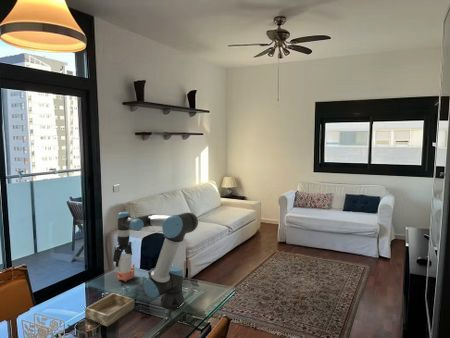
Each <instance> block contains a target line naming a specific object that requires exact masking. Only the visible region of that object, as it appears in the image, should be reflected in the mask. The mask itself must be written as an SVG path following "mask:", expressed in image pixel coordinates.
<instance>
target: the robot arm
mask: <svg viewBox="0 0 450 338" xmlns="http://www.w3.org/2000/svg"><path fill="white" fill-rule="evenodd" d="M198 225H199V219H198V217H197V215H196V214H194V213H193V212H183V213H179V214H156V213H151V214H150V213H149V214H147V215H142V216H136V217H132V216H131V214H130V212H129V211H120V212H118V214H117V237H116V241H117V242H118V243H117V245H115V246H114V247H113V248H114V252H113V258H112V262H113V263H114V262H115V263H116V264H115V266H116V267H115V266H114V267H115V272H116V273H117V272H120V262H119V260H120V257H121V254H123V252H125V253H124V254H131V255H132V256H133V249H132V248H133V247H132V244H133V243H132V241H130V230H131V231H135V232H139V231H141V230H143V228H149V227H161V229H162V233H163V237H164V241H163V244H162V247H161V250H160V253H159V256H158V259H157V262H156V266H155V267H154V268H155V270H153V271H152V272H151V275H150V278H149V277H148V278H146V279H145V280H143V291H144V292H145V294H146V295H147V296H148V297H149V298H151V299H155V298H158V297H159V296H161V298H160V306H161V307H162V308H164V309H168V310H176V309H175V308H177V307H179V306H180V305H181V304H182V303H183V302H184V303H185V301H184V300H185V297H184V293H183V280H184V270H183V269H182V268H181V267H178V266H172V265H173V262H174V260H175V258H176V254H177V252H178V248H179V247H180V243H182V242H183V241H184V239H185V236H186V234H190V233H192V232H194V231H196V229H197V228H198ZM177 309H178V308H177Z"/></svg>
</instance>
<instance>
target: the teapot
mask: <svg viewBox="0 0 450 338" xmlns="http://www.w3.org/2000/svg"><path fill="white" fill-rule="evenodd" d="M135 265H136V262H135V263H133V264H132V265H131V271H130V272H128V273H120V272H117V271H116V276H117V279H118V280H119V281H124V282H125V283H126V282H128V281H129V280H133V278H134V277H135V275H136V274H135Z"/></svg>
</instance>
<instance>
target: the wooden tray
mask: <svg viewBox="0 0 450 338" xmlns="http://www.w3.org/2000/svg"><path fill="white" fill-rule="evenodd" d="M135 302H136V301H135V299H134V298H132V297H129V296H125V295H122V294H120V293H115V292H112V293H109V294H108V295H106V296H105V297H103V298H100V299H99V300H98V301H96V302H94V303H92V304H90V305H89V306H86V307H85V308H84V319H86V320H88V319H92V320H94V321H96V322H98V323H97V324H99V323H100V324H99V325H102V326H104V327H109V326H112V324H114V323H115V322H117V321H118V320H120V319H121V318H123V317H125V316H126V315H127V314H129V313H130V312H132V311H133V310H134V309H135V304H136V303H135ZM94 321H93V322H94ZM96 322H95V323H96Z"/></svg>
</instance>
